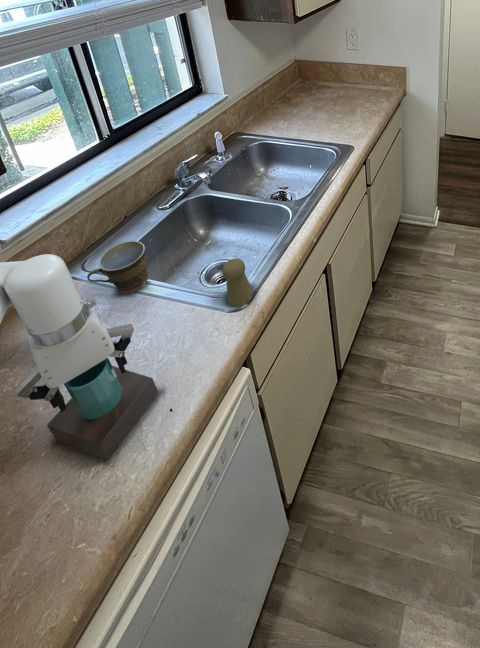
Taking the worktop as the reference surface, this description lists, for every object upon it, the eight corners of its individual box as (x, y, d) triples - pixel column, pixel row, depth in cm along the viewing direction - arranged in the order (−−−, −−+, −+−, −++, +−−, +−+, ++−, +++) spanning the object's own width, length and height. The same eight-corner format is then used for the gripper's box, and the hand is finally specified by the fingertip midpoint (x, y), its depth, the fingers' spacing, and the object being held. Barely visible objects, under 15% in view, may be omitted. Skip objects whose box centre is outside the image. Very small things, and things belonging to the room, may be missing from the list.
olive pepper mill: (243, 282, 113) (235, 250, 108) (258, 293, 110) (250, 261, 105) (222, 298, 108) (213, 266, 104) (237, 310, 105) (229, 277, 100)
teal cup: (71, 413, 80) (53, 383, 76) (103, 378, 86) (88, 348, 82) (100, 424, 78) (84, 393, 74) (131, 387, 84) (116, 357, 80)
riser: (56, 440, 80) (46, 425, 78) (111, 378, 91) (103, 362, 89) (108, 460, 78) (99, 444, 75) (159, 393, 88) (152, 377, 86)
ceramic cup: (148, 263, 119) (138, 235, 115) (160, 283, 113) (150, 255, 108) (93, 290, 111) (79, 261, 107) (103, 314, 105) (89, 284, 100)
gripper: (112, 279, 80) (138, 341, 88) (-11, 341, 69) (31, 405, 77) (124, 304, 75) (151, 367, 83) (-6, 374, 64) (38, 439, 72)
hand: (93, 385), depth 80 cm, fingers open, 9 cm apart
